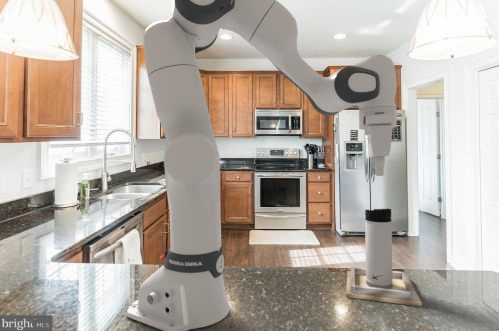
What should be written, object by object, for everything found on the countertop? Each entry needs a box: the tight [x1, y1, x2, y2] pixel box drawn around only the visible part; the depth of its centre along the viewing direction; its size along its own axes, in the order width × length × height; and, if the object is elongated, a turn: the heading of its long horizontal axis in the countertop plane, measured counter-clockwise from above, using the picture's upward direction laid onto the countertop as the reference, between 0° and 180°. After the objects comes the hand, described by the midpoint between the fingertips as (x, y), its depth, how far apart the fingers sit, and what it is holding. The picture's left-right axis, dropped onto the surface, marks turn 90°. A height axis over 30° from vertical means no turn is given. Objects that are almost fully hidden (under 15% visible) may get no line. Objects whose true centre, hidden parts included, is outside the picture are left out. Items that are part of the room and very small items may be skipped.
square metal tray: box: [345, 266, 423, 308], centre depth 76 cm, size 16×16×2 cm
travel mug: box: [364, 208, 393, 289], centre depth 76 cm, size 6×7×20 cm
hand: (377, 175), depth 76 cm, fingers open, 8 cm apart
